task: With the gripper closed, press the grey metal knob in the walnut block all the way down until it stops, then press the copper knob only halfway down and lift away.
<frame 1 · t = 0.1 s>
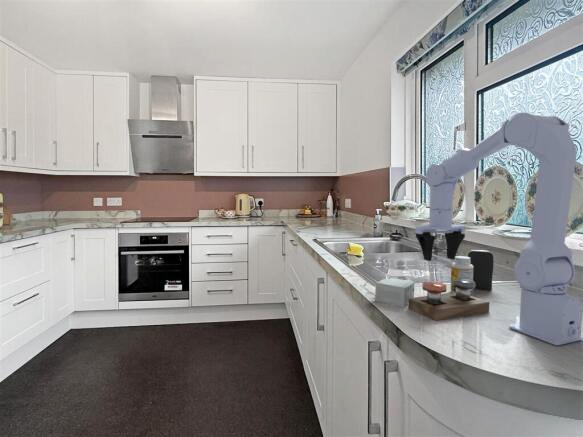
hand: (439, 259, 95), 10 cm above the counter, tool pointing down, fingers open, 7 cm apart
grey metal knob: (462, 289, 85), point 5 cm above the counter, slide at 0.0 cm
copper knob: (434, 293, 82), point 5 cm above the counter, slide at 0.0 cm
small box: (394, 301, 91), on the counter
walnut block: (448, 310, 84), on the counter
supplement bottle: (461, 293, 98), on the counter
battery charger: (478, 288, 103), on the counter
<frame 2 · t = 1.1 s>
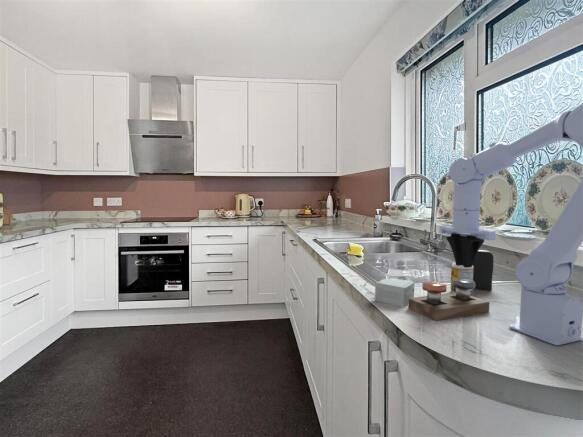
hand: (463, 266, 84), 10 cm above the counter, tool pointing down, fingers closed
nothing on the counter moved.
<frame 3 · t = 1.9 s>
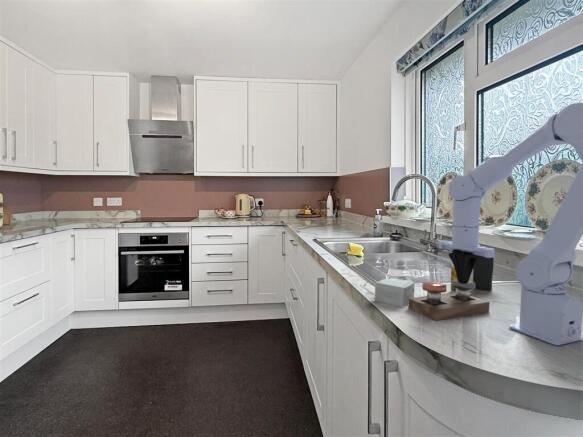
hand: (463, 282, 85), 6 cm above the counter, tool pointing down, fingers closed, pressing on grey metal knob
grey metal knob: (462, 290, 85), point 4 cm above the counter, slide at 0.2 cm, touching gripper
everything else where it was.
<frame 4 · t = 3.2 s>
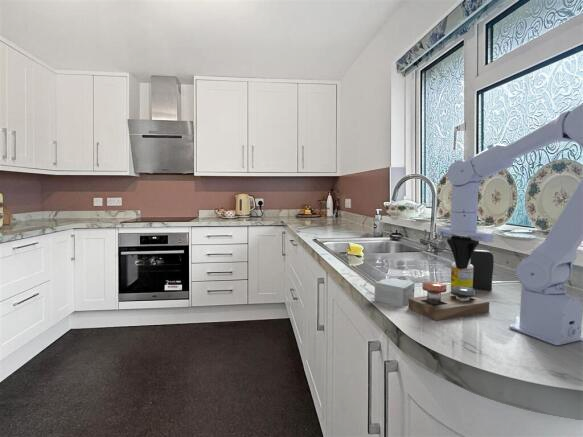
hand: (461, 268, 84), 10 cm above the counter, tool pointing down, fingers closed
grey metal knob: (462, 297, 85), point 3 cm above the counter, slide at 2.0 cm
everything else where it was.
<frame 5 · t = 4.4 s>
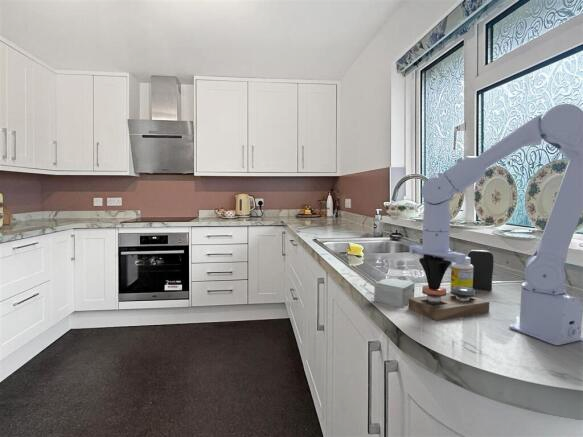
hand: (434, 288, 82), 6 cm above the counter, tool pointing down, fingers closed, pressing on copper knob
copper knob: (433, 297, 82), point 4 cm above the counter, slide at 0.9 cm, touching gripper
everything else where it was.
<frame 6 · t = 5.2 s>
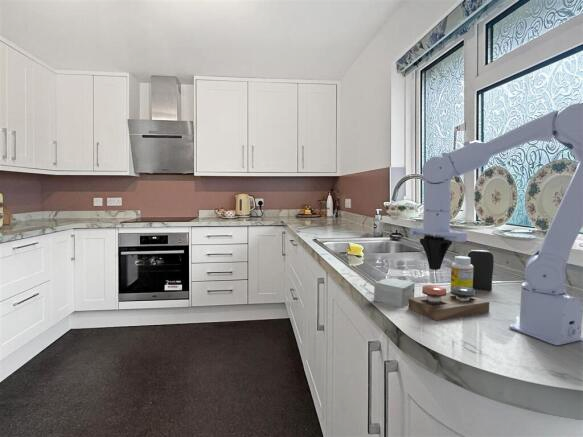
hand: (434, 269, 81), 10 cm above the counter, tool pointing down, fingers closed
copper knob: (433, 297, 82), point 4 cm above the counter, slide at 0.9 cm
everything else where it was.
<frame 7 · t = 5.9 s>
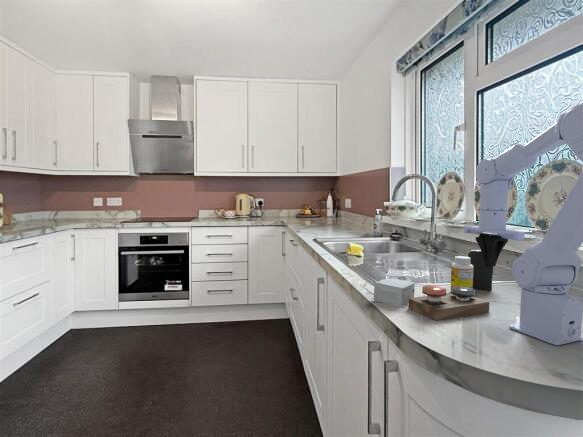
hand: (490, 266, 85), 10 cm above the counter, tool pointing down, fingers closed
nothing on the counter moved.
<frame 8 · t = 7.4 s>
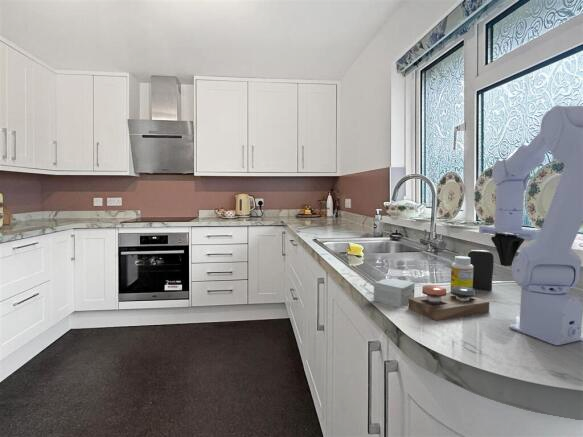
hand: (506, 265, 85), 10 cm above the counter, tool pointing down, fingers closed
nothing on the counter moved.
at the end: grey metal knob slide at 2.0 cm; copper knob slide at 0.9 cm; copper knob touching nothing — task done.
